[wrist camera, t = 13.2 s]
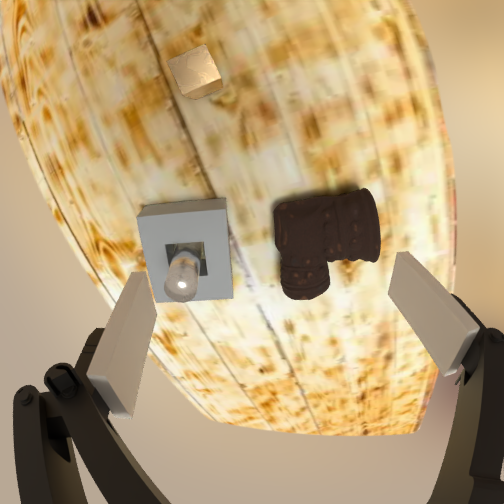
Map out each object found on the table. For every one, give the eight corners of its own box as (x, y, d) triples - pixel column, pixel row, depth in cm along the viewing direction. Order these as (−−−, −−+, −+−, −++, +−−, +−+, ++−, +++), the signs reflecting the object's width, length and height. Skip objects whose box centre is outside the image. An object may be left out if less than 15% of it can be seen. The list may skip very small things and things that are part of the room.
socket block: (145, 205, 41) (136, 217, 37) (225, 197, 42) (225, 209, 37) (161, 284, 47) (156, 302, 43) (232, 280, 48) (233, 298, 44)
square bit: (184, 75, 33) (166, 61, 22) (211, 63, 33) (205, 43, 22) (195, 99, 35) (182, 94, 24) (223, 87, 34) (221, 77, 24)
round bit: (175, 233, 44) (160, 275, 33) (201, 231, 44) (194, 273, 33) (179, 257, 45) (167, 303, 35) (204, 255, 46) (199, 301, 35)
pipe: (282, 311, 42) (381, 297, 40) (262, 214, 36) (379, 197, 34) (283, 277, 51) (367, 265, 48) (267, 195, 45) (361, 181, 42)
